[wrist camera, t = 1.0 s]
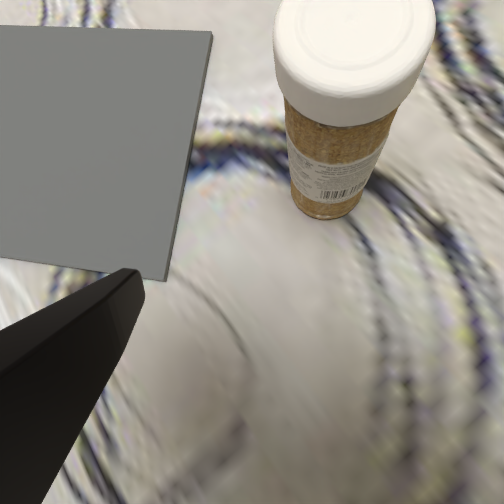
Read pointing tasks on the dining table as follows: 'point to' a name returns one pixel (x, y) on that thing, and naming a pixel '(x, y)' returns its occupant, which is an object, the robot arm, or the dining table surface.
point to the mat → (96, 143)
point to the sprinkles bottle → (344, 89)
